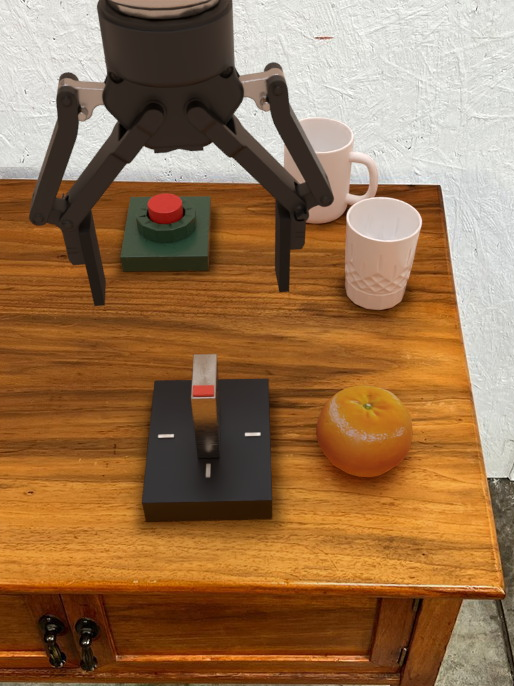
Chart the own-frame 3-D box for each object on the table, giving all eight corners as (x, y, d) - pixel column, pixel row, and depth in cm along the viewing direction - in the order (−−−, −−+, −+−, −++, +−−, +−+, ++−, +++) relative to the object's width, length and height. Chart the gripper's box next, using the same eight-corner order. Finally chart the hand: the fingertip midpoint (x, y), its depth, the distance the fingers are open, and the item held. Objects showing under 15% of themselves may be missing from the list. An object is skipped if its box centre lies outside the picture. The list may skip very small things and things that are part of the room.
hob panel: (157, 400, 77) (154, 379, 74) (268, 398, 77) (268, 377, 75) (145, 522, 67) (141, 501, 65) (272, 519, 68) (272, 498, 65)
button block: (132, 211, 98) (128, 184, 96) (211, 210, 99) (209, 183, 96) (122, 272, 90) (117, 244, 87) (208, 270, 91) (206, 243, 88)
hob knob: (199, 414, 72) (193, 352, 66) (221, 414, 72) (216, 351, 66) (197, 458, 68) (190, 396, 62) (220, 457, 68) (215, 395, 62)
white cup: (337, 310, 86) (343, 237, 79) (342, 266, 91) (349, 193, 84) (408, 317, 85) (421, 244, 78) (410, 272, 91) (422, 200, 84)
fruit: (427, 397, 73) (393, 365, 66) (423, 486, 70) (387, 461, 63) (346, 405, 77) (307, 375, 71) (339, 489, 74) (298, 465, 68)
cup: (297, 182, 103) (299, 111, 96) (383, 203, 100) (392, 131, 93) (272, 215, 98) (273, 143, 91) (362, 239, 95) (371, 166, 88)
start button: (150, 205, 93) (149, 193, 92) (183, 205, 93) (182, 192, 92) (147, 225, 90) (146, 213, 89) (182, 225, 91) (181, 212, 89)
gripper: (-84, 30, 39) (16, 334, 54) (401, 10, 41) (365, 307, 57) (-58, -26, 44) (26, 267, 60) (372, -41, 46) (346, 245, 62)
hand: (192, 287), depth 58 cm, fingers open, 13 cm apart
